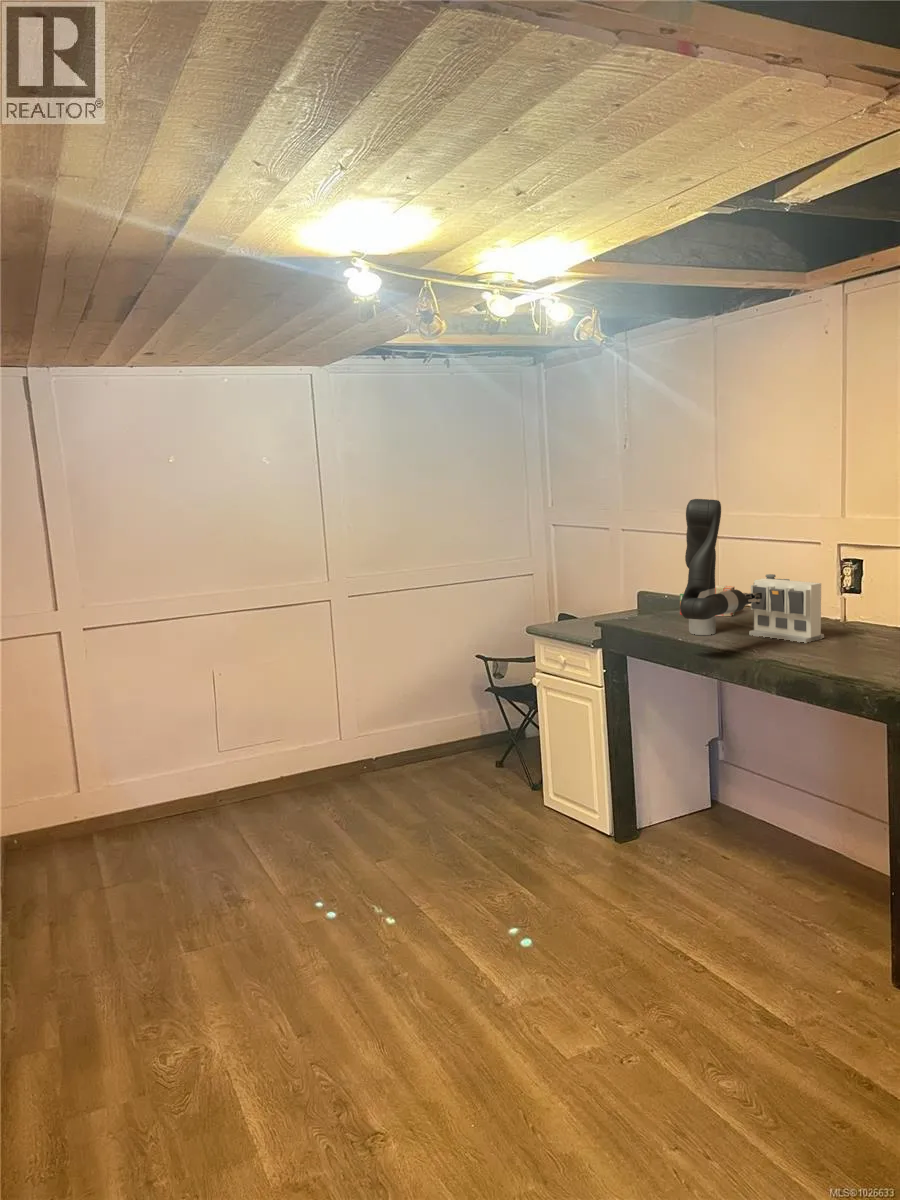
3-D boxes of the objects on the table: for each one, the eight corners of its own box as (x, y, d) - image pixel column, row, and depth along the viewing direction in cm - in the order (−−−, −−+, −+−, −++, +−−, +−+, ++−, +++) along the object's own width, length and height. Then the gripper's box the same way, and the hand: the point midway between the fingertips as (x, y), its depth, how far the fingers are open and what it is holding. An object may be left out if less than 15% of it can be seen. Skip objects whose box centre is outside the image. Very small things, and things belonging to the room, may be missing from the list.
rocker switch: (753, 608, 328) (757, 587, 328) (765, 610, 324) (768, 588, 324) (751, 608, 327) (754, 586, 327) (763, 609, 323) (766, 587, 323)
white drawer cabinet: (767, 630, 337) (767, 577, 334) (823, 638, 318) (824, 582, 315) (749, 635, 330) (749, 581, 327) (805, 643, 312) (806, 586, 309)
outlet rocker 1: (774, 609, 323) (771, 588, 321) (787, 610, 319) (784, 589, 317) (771, 610, 322) (768, 590, 320) (784, 612, 318) (781, 591, 316)
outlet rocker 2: (793, 611, 317) (790, 590, 315) (806, 612, 313) (803, 591, 311) (790, 612, 316) (787, 591, 314) (803, 614, 312) (800, 592, 310)
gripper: (744, 592, 297) (776, 586, 307) (712, 589, 308) (743, 583, 318) (745, 615, 298) (776, 608, 308) (712, 610, 309) (743, 604, 319)
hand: (759, 595), depth 313 cm, fingers closed
